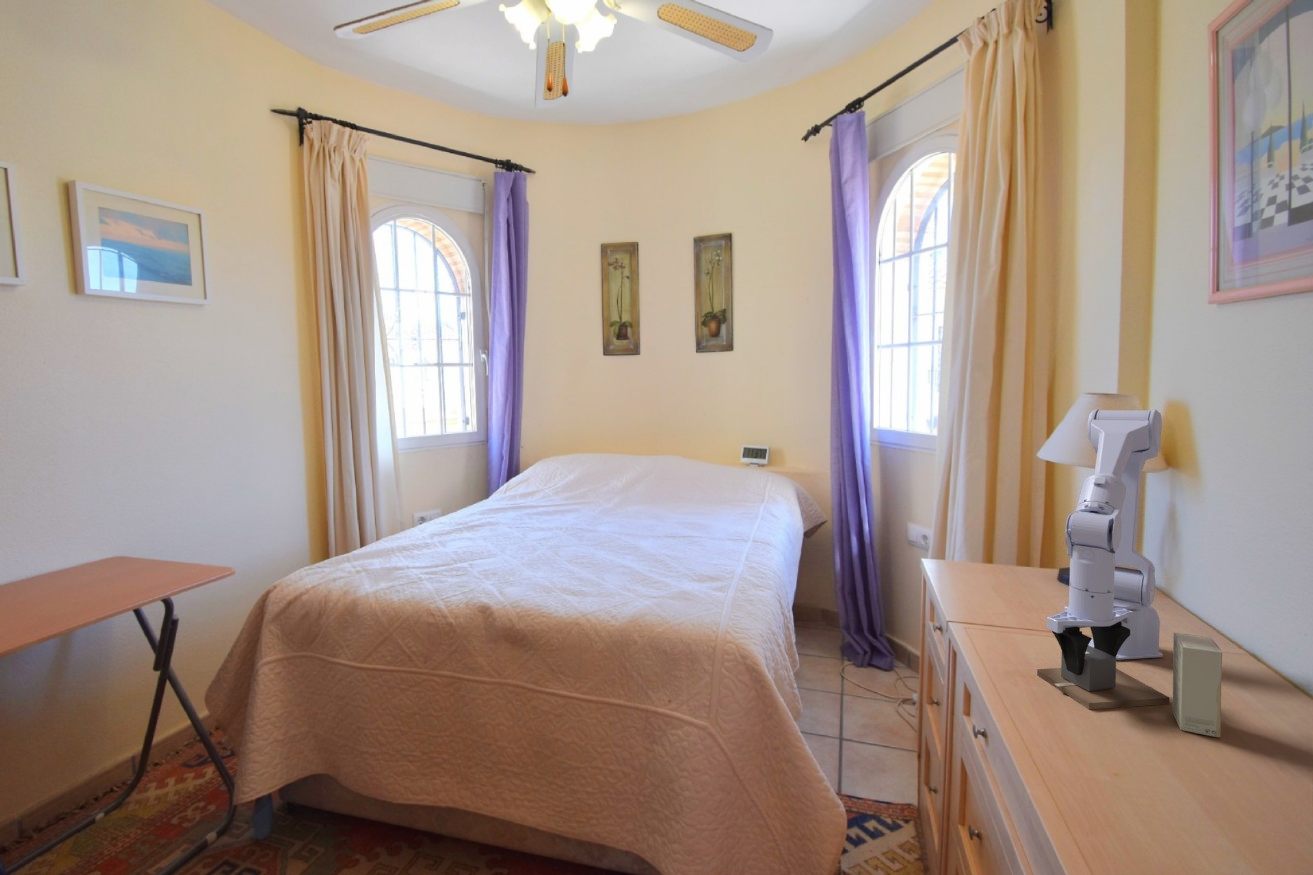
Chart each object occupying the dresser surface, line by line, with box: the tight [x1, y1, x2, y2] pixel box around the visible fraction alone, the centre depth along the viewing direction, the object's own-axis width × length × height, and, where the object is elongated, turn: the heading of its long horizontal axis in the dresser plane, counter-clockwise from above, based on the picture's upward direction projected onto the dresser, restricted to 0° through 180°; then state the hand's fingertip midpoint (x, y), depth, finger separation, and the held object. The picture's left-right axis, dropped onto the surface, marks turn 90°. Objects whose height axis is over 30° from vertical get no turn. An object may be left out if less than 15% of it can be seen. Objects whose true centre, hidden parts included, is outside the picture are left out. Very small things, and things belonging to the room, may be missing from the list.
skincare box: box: [1172, 632, 1223, 739], centre depth 85 cm, size 6×4×12 cm
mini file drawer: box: [1060, 645, 1117, 691], centre depth 95 cm, size 5×5×5 cm
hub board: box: [1036, 667, 1171, 710], centre depth 96 cm, size 14×11×4 cm
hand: (1088, 670), depth 95 cm, fingers open, 5 cm apart
